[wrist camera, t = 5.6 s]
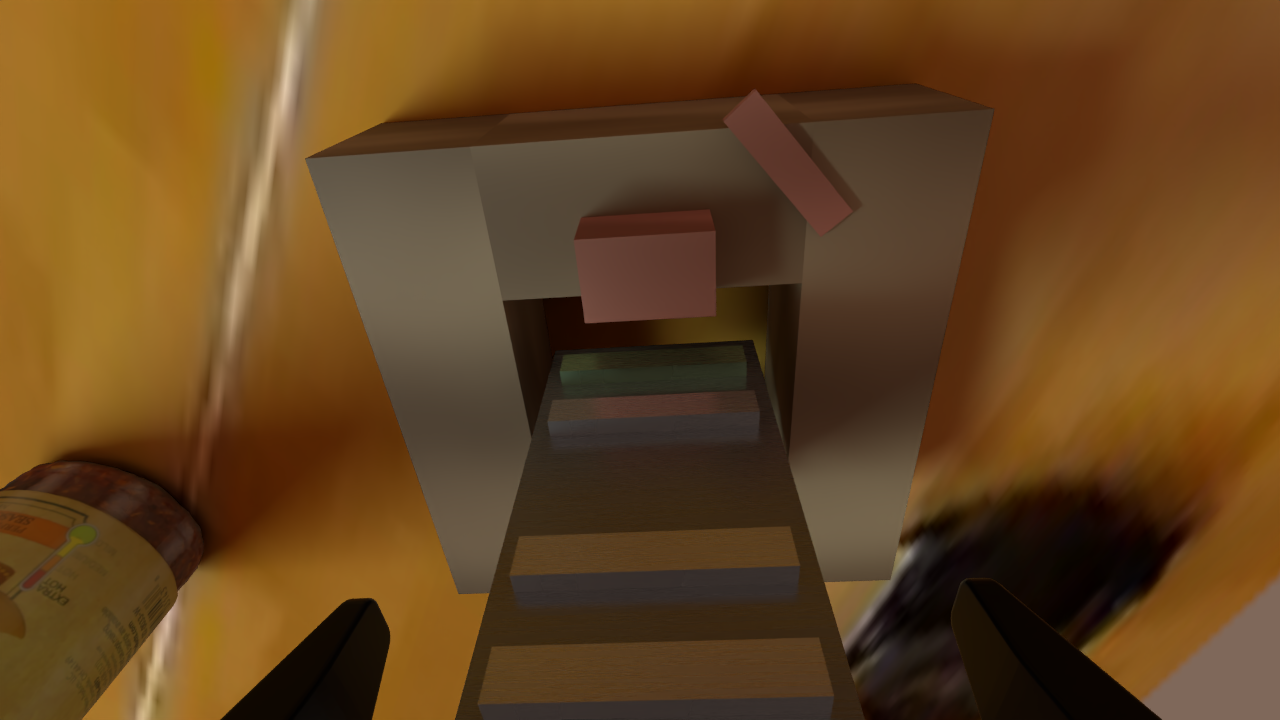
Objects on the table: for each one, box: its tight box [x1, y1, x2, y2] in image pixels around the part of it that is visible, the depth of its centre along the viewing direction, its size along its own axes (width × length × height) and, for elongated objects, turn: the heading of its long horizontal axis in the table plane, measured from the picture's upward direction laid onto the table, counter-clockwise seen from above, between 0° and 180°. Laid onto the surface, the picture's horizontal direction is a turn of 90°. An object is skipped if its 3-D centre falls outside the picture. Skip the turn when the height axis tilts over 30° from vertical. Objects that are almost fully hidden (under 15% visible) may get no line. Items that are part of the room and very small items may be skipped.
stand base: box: [305, 84, 994, 594], centre depth 14 cm, size 13×12×5 cm
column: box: [455, 340, 865, 720], centre depth 10 cm, size 5×4×8 cm
